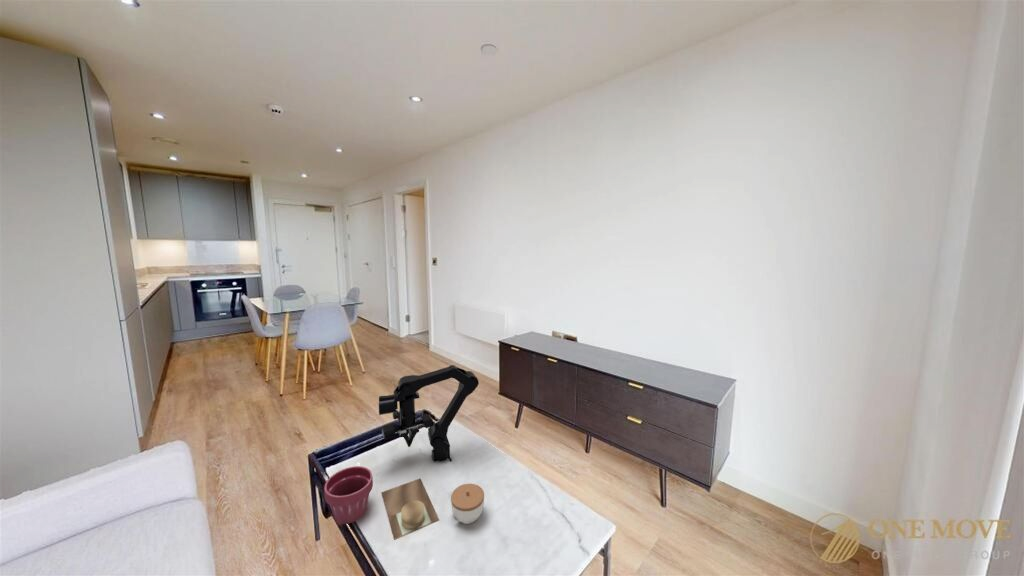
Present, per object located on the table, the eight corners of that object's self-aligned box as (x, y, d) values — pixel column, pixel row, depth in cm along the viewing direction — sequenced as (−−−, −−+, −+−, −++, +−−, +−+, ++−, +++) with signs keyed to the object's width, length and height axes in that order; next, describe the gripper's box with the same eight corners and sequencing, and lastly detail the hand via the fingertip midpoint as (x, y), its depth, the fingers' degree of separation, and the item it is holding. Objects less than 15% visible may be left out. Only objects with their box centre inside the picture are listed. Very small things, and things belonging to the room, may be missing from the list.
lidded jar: (489, 508, 113) (489, 483, 112) (475, 534, 103) (475, 507, 102) (461, 500, 116) (460, 475, 115) (445, 524, 106) (444, 498, 105)
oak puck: (421, 508, 111) (421, 497, 111) (426, 523, 105) (426, 512, 105) (400, 516, 108) (399, 505, 107) (404, 533, 102) (403, 521, 101)
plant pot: (383, 508, 113) (381, 474, 111) (346, 541, 100) (343, 503, 99) (355, 493, 119) (353, 460, 118) (317, 522, 107) (314, 486, 105)
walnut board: (420, 481, 126) (420, 478, 125) (439, 523, 107) (439, 520, 107) (381, 495, 118) (381, 492, 118) (394, 543, 100) (394, 540, 100)
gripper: (425, 395, 141) (426, 429, 144) (378, 406, 132) (380, 442, 134) (433, 406, 132) (434, 443, 134) (383, 419, 122) (385, 458, 125)
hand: (409, 446), depth 132 cm, fingers closed
